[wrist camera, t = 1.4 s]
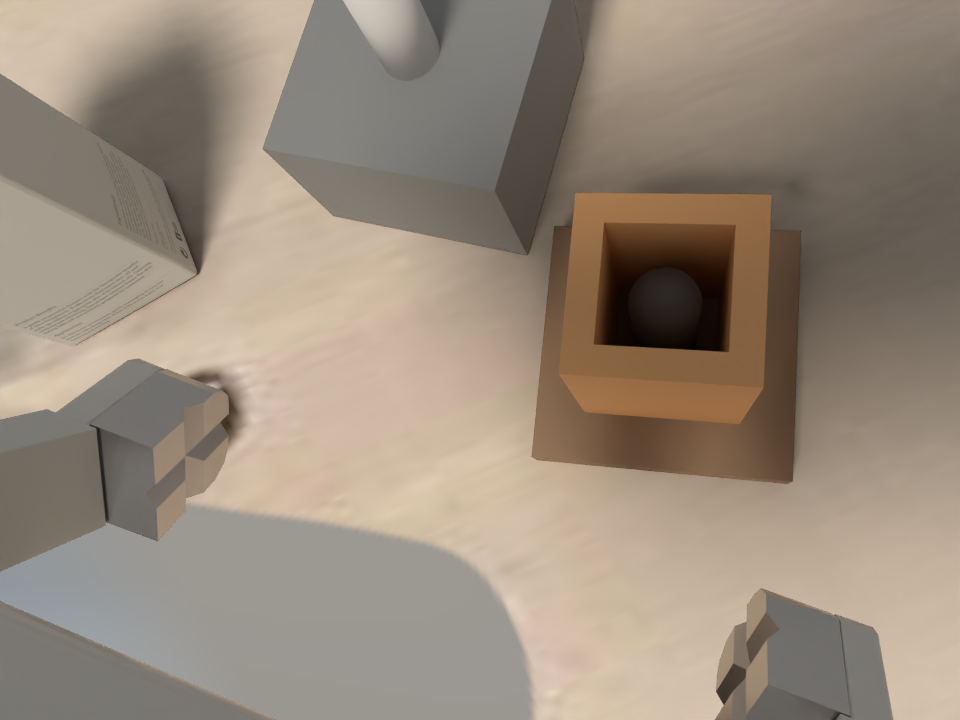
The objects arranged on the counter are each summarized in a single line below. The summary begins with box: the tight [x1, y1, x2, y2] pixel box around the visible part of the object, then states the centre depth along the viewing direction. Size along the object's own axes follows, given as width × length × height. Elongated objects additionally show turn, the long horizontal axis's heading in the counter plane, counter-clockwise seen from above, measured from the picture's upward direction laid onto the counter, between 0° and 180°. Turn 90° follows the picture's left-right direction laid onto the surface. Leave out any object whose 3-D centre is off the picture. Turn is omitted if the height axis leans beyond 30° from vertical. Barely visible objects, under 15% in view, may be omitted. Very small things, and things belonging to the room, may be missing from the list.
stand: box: [532, 226, 801, 484], centre depth 29 cm, size 10×10×9 cm
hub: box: [263, 0, 584, 255], centre depth 31 cm, size 10×10×13 cm
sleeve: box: [558, 193, 772, 424], centre depth 28 cm, size 6×6×8 cm
